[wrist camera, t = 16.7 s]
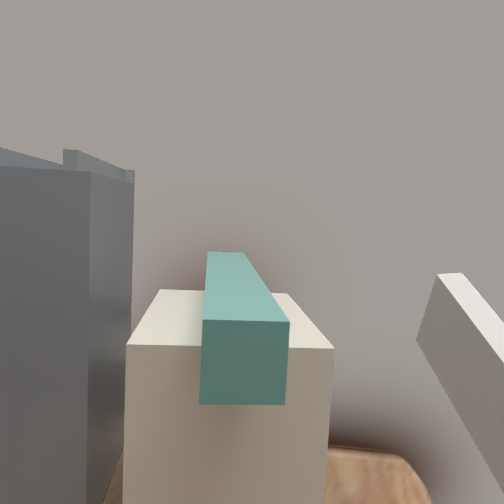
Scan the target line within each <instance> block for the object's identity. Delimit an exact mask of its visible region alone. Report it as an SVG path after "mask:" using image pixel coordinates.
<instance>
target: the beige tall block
mask: <svg viewBox="0 0 504 504" xmlns="http://www.w3.org/2000/svg"><path fill="white" fill-rule="evenodd" d="M271 294H272V296H273V297H274V299H275V300H276V302H277V303H278V305H279V306H280V307H281V309H282V310H283V312H284V313H285V315H286V316H287V318H288V319H289V321H290V332H289V348H288V364H287V381H286V397H285V405H199V393H200V369H201V344H202V320H203V307H204V295H205V291H191V290H159V292H158V294H157V295H156V297H155V299H154V300H153V302H152V303H151V305H150V306H149V308H148V310H147V311H146V313H145V315H144V316H143V318H142V319H141V321H140V323H139V324H138V326H137V328H136V329H135V331H134V332H133V334H132V336H131V337H130V339H129V340H128V342H127V344H126V370H125V414H124V457H123V501H122V504H323V502H324V488H325V475H326V461H327V448H328V434H329V420H330V407H331V406H330V405H331V393H332V380H333V366H334V352H335V348H334V347H333V346H332V345H331V344H330V343H329V341H328V340H327V339H326V338H325V337H324V336H323V334H322V333H321V332H320V331H319V330H318V329H317V327H316V326H315V325H314V324H313V323H312V322H311V320H310V319H309V318H308V317H307V316H306V315H305V314H304V313H303V311H302V310H301V309H300V308H299V307H298V306H297V304H296V303H295V302H294V301H293V300H292V299H291V298H290V296H289V295H288V294H282V293H271Z"/></svg>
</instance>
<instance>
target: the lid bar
mask: <svg viewBox="0 0 504 504" xmlns="http://www.w3.org/2000/svg"><path fill="white" fill-rule="evenodd" d="M289 332H290V321H289V319H288V318H287V316H286V315H285V313H284V312H283V310H282V309H281V307H280V306H279V305H278V303H277V302H276V300H275V299H274V297H273V296H272V294H271V293H270V291H269V290H268V288H267V287H266V285H265V284H264V283H263V281H262V279H261V278H260V277H259V275H258V274H257V272H256V271H255V269H254V268H253V267H252V265H251V263H250V262H249V260H248V259H247V258H246V256H245V254H244V253H231V252H208V259H207V270H206V283H205V295H204V307H203V320H202V344H201V369H200V393H199V405H285V397H286V381H287V364H288V348H289Z"/></svg>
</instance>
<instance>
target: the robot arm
mask: <svg viewBox="0 0 504 504" xmlns="http://www.w3.org/2000/svg"><path fill="white" fill-rule="evenodd" d="M416 341H417V343H418V345H419V346H420V348H421V350H422V352H423V353H424V355H425V357H426V359H427V360H428V362H429V364H430V366H431V367H432V369H433V371H434V373H435V374H436V376H437V378H438V380H439V381H440V383H441V385H442V386H443V388H444V390H445V392H446V394H447V395H448V397H449V399H450V400H451V402H452V404H453V406H454V407H455V409H456V411H457V413H458V414H459V416H460V418H461V420H462V421H463V423H464V425H465V427H466V428H467V430H468V432H469V433H470V435H471V437H472V439H473V440H474V442H475V444H476V446H477V447H478V449H479V451H480V453H481V454H482V456H483V458H484V459H485V461H486V463H487V465H488V467H489V468H490V470H491V472H492V474H493V475H494V477H495V479H496V480H497V482H498V484H499V486H500V488H501V489H502V491H503V493H504V323H503V322H502V320H501V319H500V318H499V317H498V316H497V314H496V313H495V312H494V311H493V310H492V308H491V307H490V306H489V305H488V304H487V302H486V301H485V300H484V299H483V298H482V297H481V295H480V294H479V293H478V292H477V291H476V289H475V288H474V287H473V286H472V284H471V283H470V282H469V281H468V280H467V278H466V277H465V276H464V275H463V274H462V273H451V274H437V276H436V279H435V282H434V285H433V288H432V292H431V295H430V298H429V301H428V304H427V307H426V310H425V313H424V317H423V320H422V323H421V326H420V329H419V333H418V335H417V338H416Z"/></svg>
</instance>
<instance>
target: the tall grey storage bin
mask: <svg viewBox="0 0 504 504" xmlns="http://www.w3.org/2000/svg"><path fill="white" fill-rule="evenodd" d="M134 175H135V171H134V170H124V169H122V168H119V167H117V166H114V165H112V164H109V163H107V162H105V161H102V160H100V159H98V158H95V157H93V156H90V155H88V154H86V153H83V152H81V151H79V150H69V149H63V165H61V164H58V163H54V162H50V161H47V160H43V159H40V158H36V157H33V156H29V155H25V154H22V153H18V152H15V151H10V150H7V149H3V148H0V504H102V503H103V500H104V497H105V494H106V492H107V489H108V486H109V483H110V481H111V478H112V475H113V473H114V470H115V467H116V464H117V462H118V459H119V456H120V454H121V451H122V448H123V445H124V414H125V370H126V344H127V342H128V340H129V339H130V337H131V301H132V298H131V297H132V260H133V218H134V216H133V215H134Z"/></svg>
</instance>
